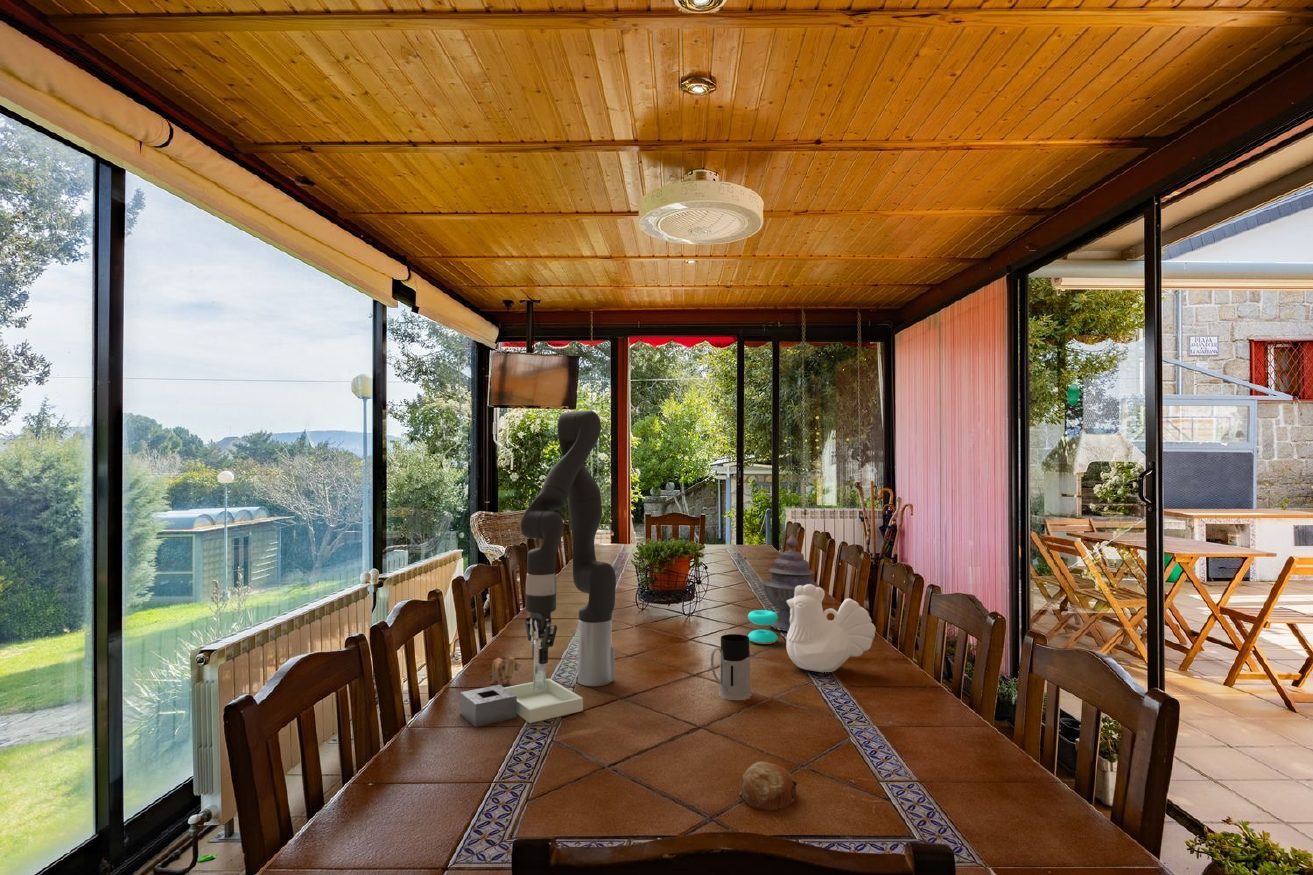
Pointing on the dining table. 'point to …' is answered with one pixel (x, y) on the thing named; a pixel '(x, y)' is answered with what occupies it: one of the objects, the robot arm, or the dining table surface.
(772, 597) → the decorative urn
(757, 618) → the donuts
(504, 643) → the dining table surface
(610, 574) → the robot arm
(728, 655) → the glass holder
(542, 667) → the steel pin
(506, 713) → the block
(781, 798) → the bread roll
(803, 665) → the decorative rooster
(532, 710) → the tray
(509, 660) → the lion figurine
